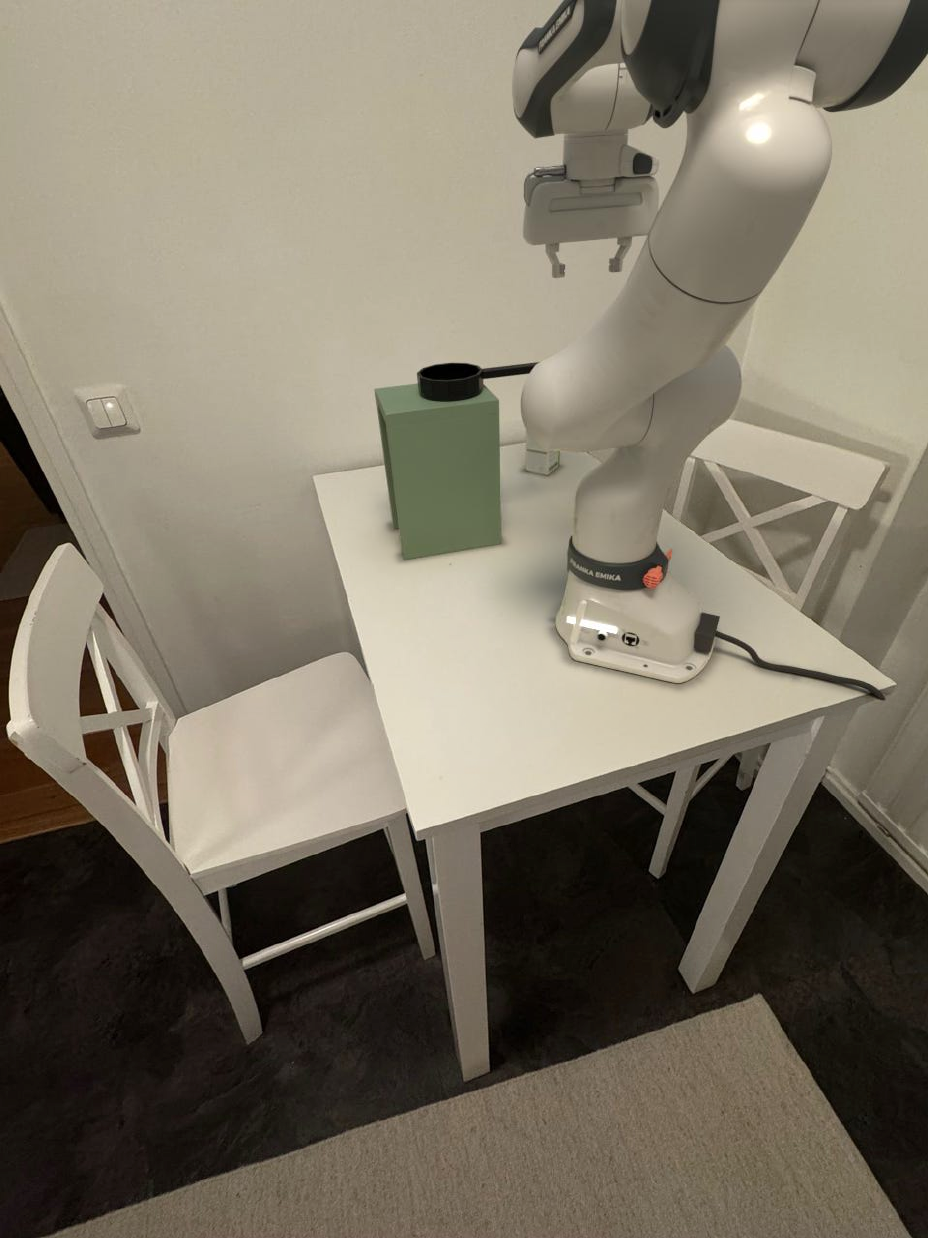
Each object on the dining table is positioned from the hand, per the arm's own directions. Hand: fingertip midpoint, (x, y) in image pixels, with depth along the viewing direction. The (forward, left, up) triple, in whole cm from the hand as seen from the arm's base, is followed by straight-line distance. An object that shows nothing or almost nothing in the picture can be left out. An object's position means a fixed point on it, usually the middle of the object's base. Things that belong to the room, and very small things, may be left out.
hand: (586, 274), depth 94 cm
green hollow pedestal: (+17, +19, -41) cm, 48 cm away
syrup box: (+15, -16, -41) cm, 47 cm away
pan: (+10, +11, -15) cm, 21 cm away
